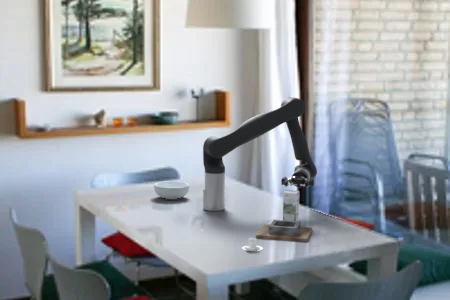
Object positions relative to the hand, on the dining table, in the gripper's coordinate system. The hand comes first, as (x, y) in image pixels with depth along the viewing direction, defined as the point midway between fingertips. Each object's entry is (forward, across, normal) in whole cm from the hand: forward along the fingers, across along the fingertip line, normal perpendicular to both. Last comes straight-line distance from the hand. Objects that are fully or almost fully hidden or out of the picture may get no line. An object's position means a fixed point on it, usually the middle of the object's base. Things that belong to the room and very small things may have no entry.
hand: (295, 184), depth 314 cm
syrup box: (+11, 0, +15) cm, 19 cm away
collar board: (+27, 0, +15) cm, 31 cm away
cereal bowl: (-25, -64, +14) cm, 71 cm away
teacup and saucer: (+52, -12, +15) cm, 56 cm away
